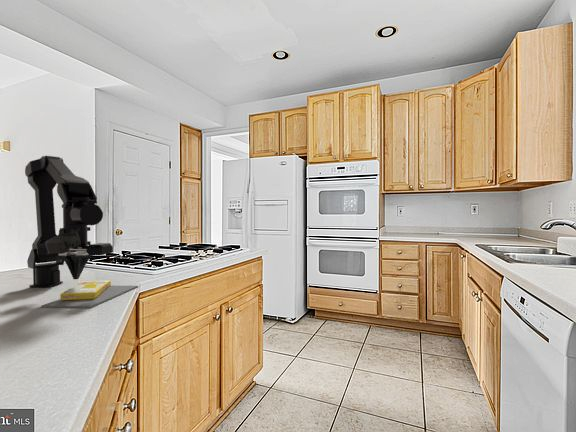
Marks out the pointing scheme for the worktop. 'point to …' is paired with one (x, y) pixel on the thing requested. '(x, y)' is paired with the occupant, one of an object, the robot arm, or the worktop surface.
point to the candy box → (85, 290)
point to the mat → (89, 303)
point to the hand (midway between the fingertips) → (76, 279)
